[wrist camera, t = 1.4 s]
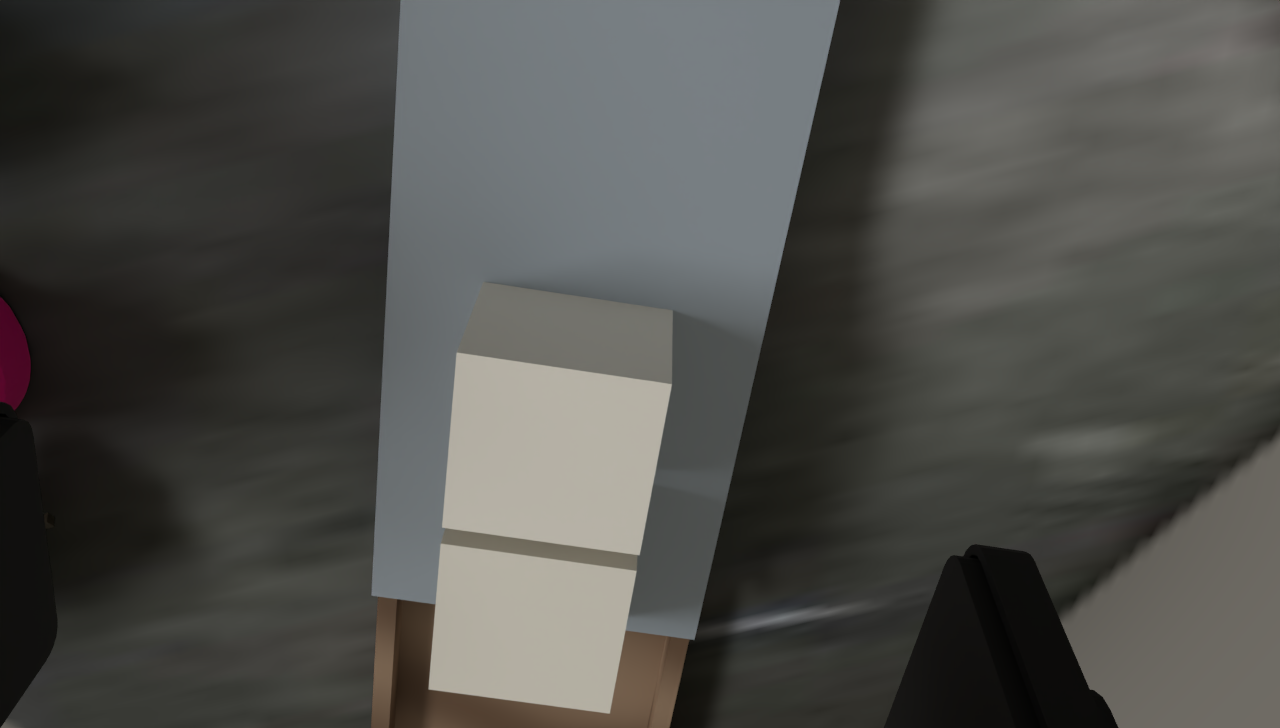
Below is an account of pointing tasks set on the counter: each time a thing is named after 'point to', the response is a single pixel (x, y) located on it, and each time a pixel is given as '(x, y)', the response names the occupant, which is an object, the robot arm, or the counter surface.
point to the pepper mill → (12, 358)
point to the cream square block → (529, 620)
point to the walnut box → (466, 724)
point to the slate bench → (592, 231)
